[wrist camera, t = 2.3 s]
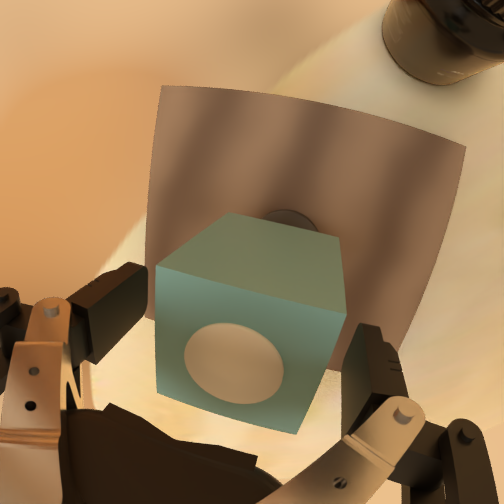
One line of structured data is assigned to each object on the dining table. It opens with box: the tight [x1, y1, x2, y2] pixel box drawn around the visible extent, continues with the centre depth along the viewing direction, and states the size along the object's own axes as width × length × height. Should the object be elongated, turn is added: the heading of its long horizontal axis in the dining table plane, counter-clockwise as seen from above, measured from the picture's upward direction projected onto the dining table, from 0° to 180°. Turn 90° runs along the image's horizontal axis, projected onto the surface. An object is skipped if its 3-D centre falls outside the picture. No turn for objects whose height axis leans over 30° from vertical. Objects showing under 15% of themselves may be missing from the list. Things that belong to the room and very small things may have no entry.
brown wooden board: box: [145, 86, 466, 372], centre depth 18 cm, size 20×18×9 cm
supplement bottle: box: [382, 0, 504, 85], centre depth 9 cm, size 7×7×12 cm
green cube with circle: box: [155, 212, 347, 435], centre depth 12 cm, size 5×5×7 cm
